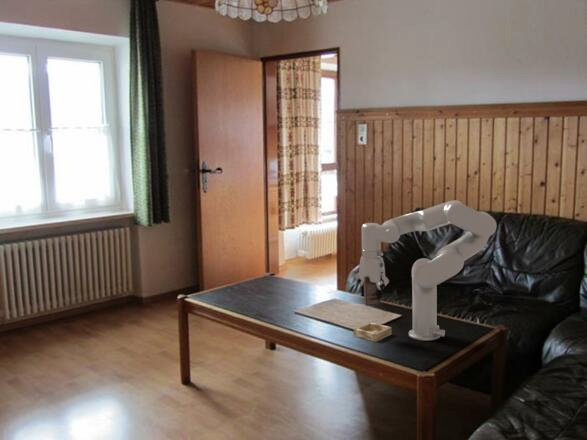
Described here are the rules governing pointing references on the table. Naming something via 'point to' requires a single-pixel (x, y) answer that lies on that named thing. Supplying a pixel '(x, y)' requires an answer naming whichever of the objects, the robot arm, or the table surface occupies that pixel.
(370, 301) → the box
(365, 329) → the housing
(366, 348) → the table surface
